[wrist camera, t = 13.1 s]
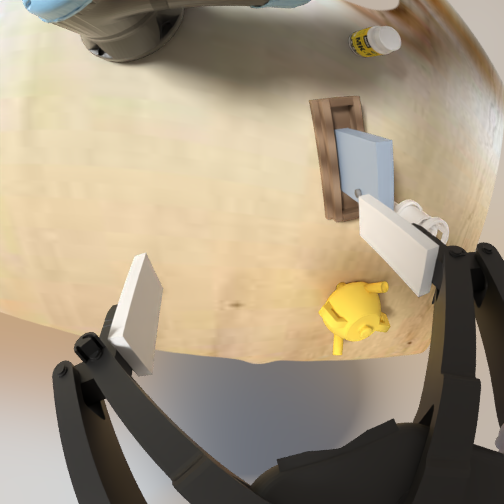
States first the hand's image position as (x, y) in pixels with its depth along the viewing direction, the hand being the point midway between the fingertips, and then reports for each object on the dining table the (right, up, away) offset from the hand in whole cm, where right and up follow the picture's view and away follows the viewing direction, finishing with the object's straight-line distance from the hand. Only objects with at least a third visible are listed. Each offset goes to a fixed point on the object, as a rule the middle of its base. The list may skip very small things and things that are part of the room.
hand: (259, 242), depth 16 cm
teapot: (+20, -10, +41) cm, 47 cm away
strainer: (+25, +8, +31) cm, 41 cm away
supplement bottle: (+17, +32, +16) cm, 40 cm away
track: (+14, +15, +25) cm, 32 cm away
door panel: (+14, +14, +24) cm, 32 cm away
